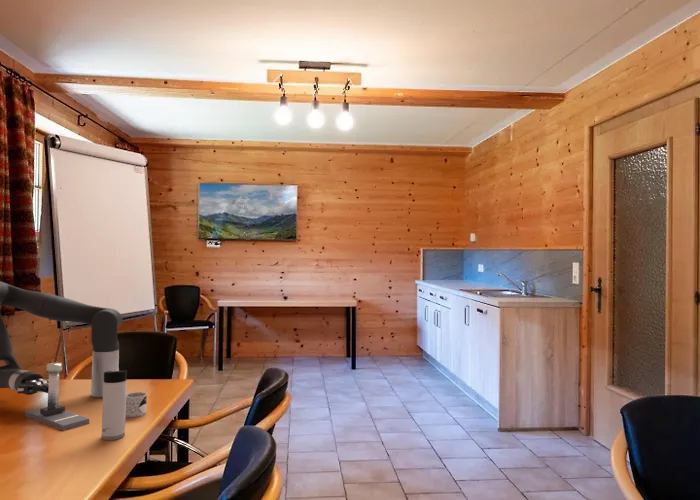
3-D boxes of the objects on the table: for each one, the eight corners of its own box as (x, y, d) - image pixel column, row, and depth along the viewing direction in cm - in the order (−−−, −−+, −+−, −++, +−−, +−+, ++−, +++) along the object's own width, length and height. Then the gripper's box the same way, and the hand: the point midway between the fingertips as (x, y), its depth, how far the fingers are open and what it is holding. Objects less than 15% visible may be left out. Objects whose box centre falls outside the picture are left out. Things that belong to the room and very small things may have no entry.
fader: (39, 413, 154) (41, 364, 154) (58, 408, 159) (60, 361, 159) (46, 416, 151) (48, 366, 152) (65, 411, 156) (67, 363, 157)
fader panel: (25, 415, 156) (25, 411, 156) (50, 409, 163) (50, 405, 163) (63, 430, 144) (63, 425, 144) (89, 423, 151) (89, 418, 151)
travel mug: (101, 442, 135) (103, 372, 136) (101, 434, 141) (103, 368, 142) (125, 438, 138) (127, 371, 139) (124, 431, 144) (126, 366, 145)
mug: (143, 416, 158) (144, 397, 158) (122, 417, 157) (123, 397, 157) (149, 407, 168) (150, 389, 168) (130, 408, 166) (130, 389, 167)
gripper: (4, 374, 160) (29, 382, 150) (46, 368, 171) (71, 374, 162) (3, 397, 159) (28, 406, 150) (45, 388, 171) (71, 396, 162)
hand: (51, 389), depth 156 cm, fingers closed
